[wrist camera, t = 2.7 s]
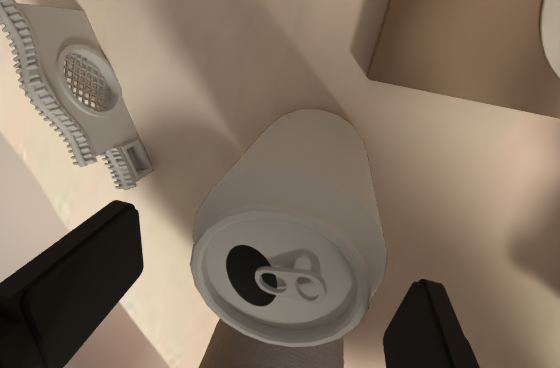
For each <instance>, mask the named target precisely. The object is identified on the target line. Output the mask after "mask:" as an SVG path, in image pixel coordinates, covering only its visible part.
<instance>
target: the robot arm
mask: <svg viewBox="0 0 560 368" xmlns="http://www.w3.org/2000/svg"><path fill="white" fill-rule="evenodd" d="M142 271H143V254H142V244H141V233H140V223H139V213H138V210H136V209H135V206H134V205H133V204H130V203H126V202H122V201H119V200H114V201H112V202H111V203H109V204H108V205H107V206H105V207H104V208H102V209H101V210H100V211H98V212H97V213H96V214H94V215H93V216H91V217H90V218H89V219H87V220H86V221H85V222H83V223H82V224H81V225H79V226H78V227H76V228H75V229H74V230H72V231H71V232H70V233H68V234H67V235H65V236H64V237H63V238H61V239H60V240H59V241H57V242H56V243H54V244H53V245H52V246H50V247H49V248H48V249H46V250H45V251H44V252H42V253H41V254H39V255H38V256H37V257H35V258H34V259H33V260H31V261H30V262H28V263H27V264H26V265H24V266H23V267H22V268H20V269H19V270H17V271H16V272H15V273H13V274H12V275H11V276H9V277H8V278H6V279H5V280H4V281H3V282H1V283H0V368H63V367H64V366H65V365H66V364H67V363H68V362H69V360H70V359H71V358H72V357H73V356H74V354H75V353H76V352H77V351H78V350H79V348H80V347H81V346H82V345H83V343H84V342H85V341H86V340H87V339H88V337H89V336H90V335H91V334H92V333H93V331H94V330H95V329H96V328H97V327H98V325H99V324H100V323H101V322H102V321H103V319H104V318H105V317H106V316H107V315H108V313H109V312H110V311H111V310H112V309H113V307H114V306H115V305H116V304H117V303H118V302H119V300H120V299H121V298H122V297H123V296H124V294H125V293H126V292H127V291H128V290H129V288H130V287H131V286H132V285H133V284H134V282H135V281H136V280H137V279H138V278H139V276H140V275H141V273H142ZM383 346H384V354H385V361H386V368H480V367H479V365H478V363H477V360H476V358H475V355H474V353H473V351H472V348H471V346H470V344H469V342H468V340H467V339H466V338H465V337H464V334H463V332H462V329H461V327H460V324H459V322H458V320H457V317H456V315H455V312H454V310H453V307H452V305H451V302H450V300H449V298H448V295H447V293H446V290H445V288H444V286H443V285H442V284H441V283H437V282H433V281H429V280H425V279H421V280H419V282H414V283H413V284H412V285H411V287H410V289H409V290H408V292H407V294H406V296H405V298H404V299H403V301H402V303H401V305H400V306H399V308H398V310H397V312H396V314H395V315H394V317H393V319H392V321H391V322H390V324H389V326H388V328H387V330H386V331H385V333H384V338H383Z"/></svg>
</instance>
